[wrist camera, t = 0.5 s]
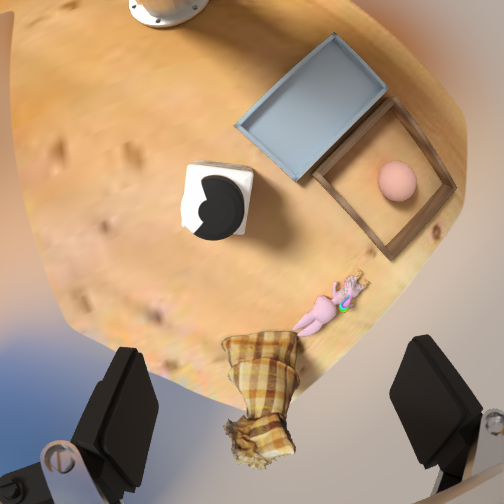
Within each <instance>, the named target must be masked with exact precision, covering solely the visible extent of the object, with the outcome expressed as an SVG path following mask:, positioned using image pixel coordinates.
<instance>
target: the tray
mask: <svg viewBox="0 0 504 504" xmlns="http://www.w3.org/2000/svg"><path fill="white" fill-rule="evenodd" d="M388 90H389V88H388V87H387V85H386V84H385V83H384V82H383V81H382V80H381V79H380V77H379V76H378V75H377V74H376V73H375V72H374V71H373V70H372V69H371V68H370V66H369V65H368V64H367V63H366V62H365V61H364V60H363V59H362V58H361V57H360V56H359V55H358V54H357V53H356V52H355V51H354V50H353V49H352V48H351V47H350V46H349V45H348V44H347V43H346V42H345V41H344V40H343V39H341V38H340V37H339V36H338V35H337V34H336V33H335V32H334V33H333V34H332V35H331V36H329V37H328V38H327V39H326V40H324V41H323V42H322V43H321V44H320V45H318V46H317V47H316V48H315V49H314V50H313V51H311V52H310V53H309V54H308V55H307V56H306V57H304V58H303V59H302V60H301V61H300V62H299V63H298V64H297V65H295V66H294V67H293V68H292V69H291V70H290V71H289V72H288V73H287V74H286V75H284V76H283V77H282V78H281V79H280V80H279V81H278V82H277V83H276V84H275V85H274V86H273V87H272V88H271V89H270V90H269V91H268V92H267V93H266V94H264V95H263V96H262V97H261V98H260V99H259V100H258V101H257V102H256V103H255V104H254V105H253V106H252V107H251V108H250V109H249V110H248V111H247V112H246V113H245V114H244V116H243V117H242V118H241V119H240V120H239V121H238V122H237V123H236V124H235V125H234V127H235V128H237V129H238V130H239V131H240V132H241V133H242V134H244V135H245V136H246V137H247V138H248V139H249V140H250V141H251V142H253V143H254V144H255V145H256V146H257V147H258V148H259V149H260V150H261V151H263V152H264V153H265V154H266V155H267V156H268V157H269V158H270V159H271V160H272V161H273V162H275V163H276V164H277V165H278V166H279V167H280V168H281V169H282V170H283V171H284V172H285V173H286V174H287V175H288V176H289V177H290V178H291V179H292V180H294V181H295V182H297V181H298V180H299V179H300V178H301V177H302V176H303V174H304V173H305V172H306V171H307V170H308V169H309V168H310V167H311V166H312V165H313V164H314V163H315V162H316V161H317V160H318V159H319V158H320V157H321V156H322V155H323V154H324V153H325V152H326V151H327V150H328V149H329V148H330V147H331V146H332V145H333V144H334V143H335V142H336V141H337V140H338V139H339V138H340V137H341V136H342V135H343V134H344V133H345V132H346V131H347V130H348V129H349V128H350V127H351V126H352V125H353V124H354V123H355V122H356V121H357V120H358V119H359V118H360V117H361V116H362V115H363V114H364V113H365V112H366V111H367V110H368V109H369V108H370V107H371V106H372V105H373V104H374V103H375V102H376V101H377V100H378V99H379V98H380V97H381V96H382V95H384V94H385V93H386V92H387V91H388Z"/></svg>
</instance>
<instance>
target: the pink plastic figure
mask: <svg viewBox="0 0 504 504" xmlns="http://www.w3.org/2000/svg"><path fill="white" fill-rule="evenodd" d="M358 269H359V268H358ZM358 272H359V276H348V277H347V278H346V279H345V281H344V284H343V286H342V289H341V290H339V291H336V286H337V282H334V284H333V299H331V300H330V299H328V298H327V297H326V296H319V297H318V298H317V300H316V302H315V304H314V306H313V308H312V310H311V311H309V312H308V313H306V314H305V315H304V316H303V318H302V319H301V320H300V321H299V322H298V323H297V325H296V326H295V327H294V328H293V329H292V331H295V330H298V329H302V328H304V327H305V326H307V325H308V324H309V325H308V326H307V327H306V328H305V329H303V330H302V331H301V332H300V333H299V334H297V336H301V337H305V336H310V335H313V334H315V333H316V332H317V331H319V330H320V329H321V327H322V325H323V324H325V323H327V322H329V321H330V320H332V319H333V318H334V317H335V316H336V313H337V309H336V305H337V304H339V310H340V312H342V313H345V312H347V311H348V310H349V308H350V307H353V304H350V302H351V299H352V298H355V297H357V296H358V294H359V293H360V292H361V291H362V290H363V289H365V288H366V286H367V284H370V283H369V282H368V281H367V280H365V278H364V281H365V282H366V284H365V285H360V284H359V283H356V282H357V280H358V279H359V277H360V275H361V274H364V273H362V271H360V270H358ZM311 322H312V323H311ZM310 323H311V324H310Z"/></svg>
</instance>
